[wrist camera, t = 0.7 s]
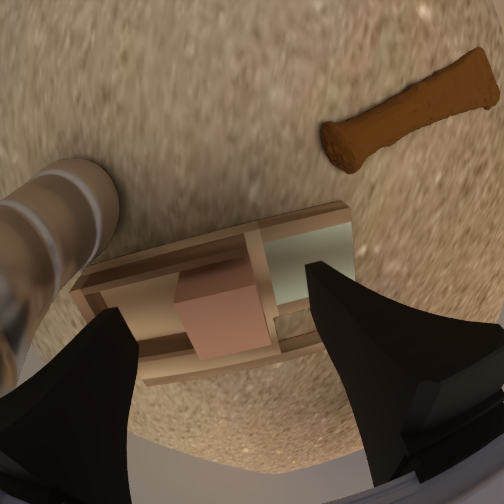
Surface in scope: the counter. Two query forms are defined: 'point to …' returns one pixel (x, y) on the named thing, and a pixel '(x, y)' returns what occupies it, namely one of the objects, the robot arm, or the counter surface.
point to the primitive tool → (412, 110)
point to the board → (208, 252)
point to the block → (221, 308)
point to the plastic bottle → (48, 248)
